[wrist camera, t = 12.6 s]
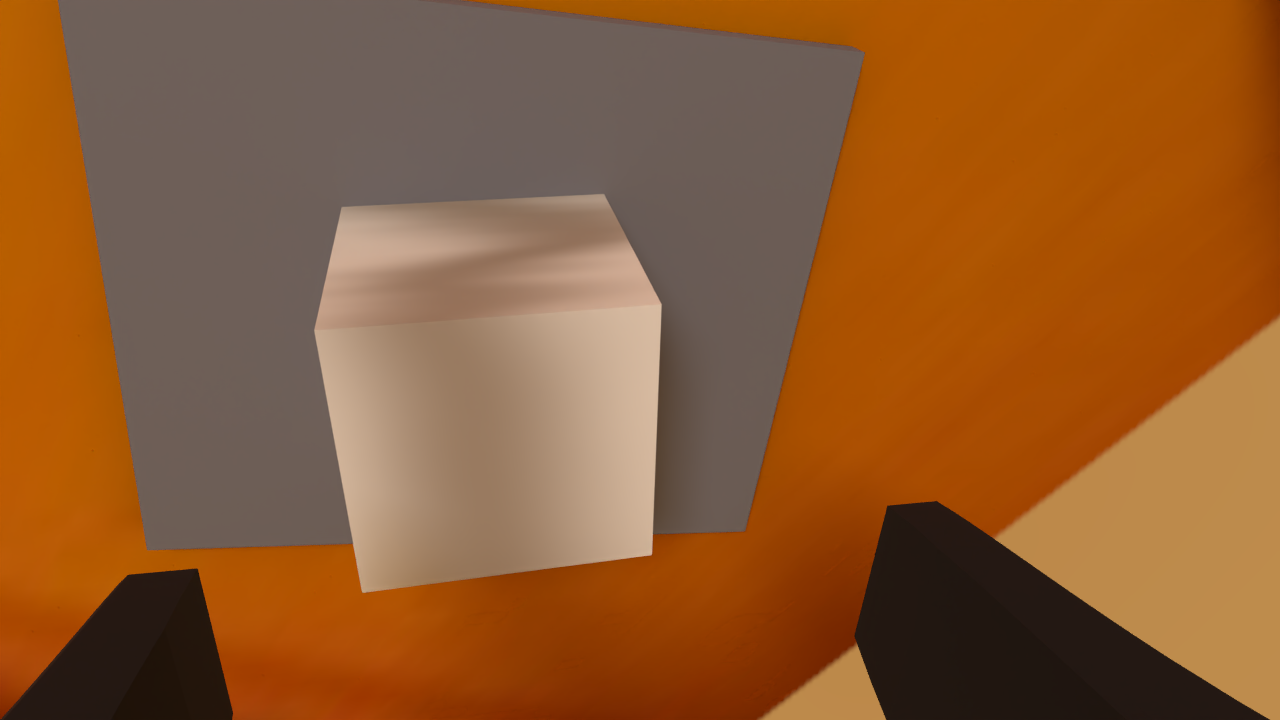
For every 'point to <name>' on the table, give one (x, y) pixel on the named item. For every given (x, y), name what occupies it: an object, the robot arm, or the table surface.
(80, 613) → the table surface
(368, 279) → the whitewashed cube
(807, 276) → the charcoal mat
